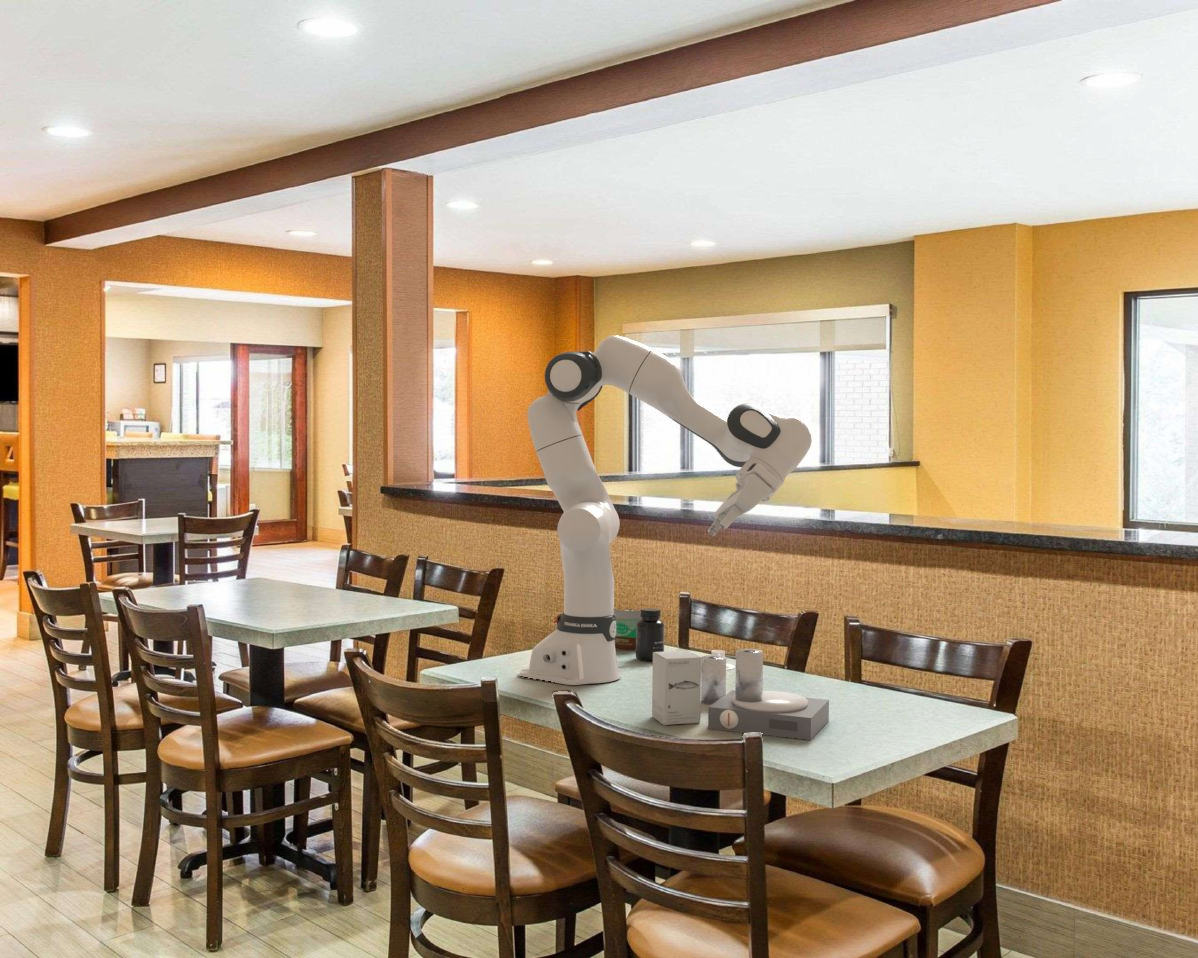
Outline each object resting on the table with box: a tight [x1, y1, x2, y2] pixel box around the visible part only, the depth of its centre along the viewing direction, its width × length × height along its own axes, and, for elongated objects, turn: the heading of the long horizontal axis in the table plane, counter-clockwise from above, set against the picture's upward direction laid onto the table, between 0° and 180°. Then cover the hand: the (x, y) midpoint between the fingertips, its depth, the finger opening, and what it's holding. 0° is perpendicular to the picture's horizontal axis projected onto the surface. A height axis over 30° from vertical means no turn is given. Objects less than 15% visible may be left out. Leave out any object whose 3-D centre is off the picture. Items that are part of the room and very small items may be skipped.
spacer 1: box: [700, 654, 727, 706], centre depth 229 cm, size 5×5×9 cm
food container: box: [614, 608, 641, 651], centre depth 285 cm, size 12×6×10 cm, turn 71°
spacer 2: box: [734, 648, 764, 702], centre depth 210 cm, size 5×5×9 cm
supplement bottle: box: [635, 607, 665, 662], centre depth 271 cm, size 7×7×12 cm
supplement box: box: [651, 650, 702, 727], centre depth 214 cm, size 7×7×13 cm
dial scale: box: [707, 689, 830, 741], centre depth 211 cm, size 19×15×5 cm
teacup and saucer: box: [710, 649, 736, 671], centre depth 264 cm, size 9×8×4 cm
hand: (716, 529), depth 236 cm, fingers open, 8 cm apart
